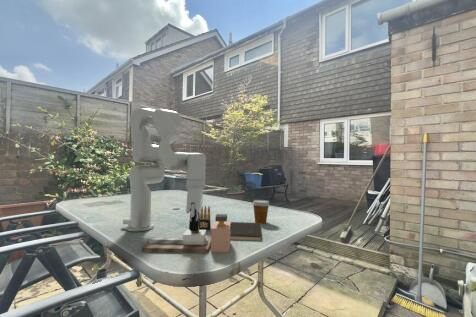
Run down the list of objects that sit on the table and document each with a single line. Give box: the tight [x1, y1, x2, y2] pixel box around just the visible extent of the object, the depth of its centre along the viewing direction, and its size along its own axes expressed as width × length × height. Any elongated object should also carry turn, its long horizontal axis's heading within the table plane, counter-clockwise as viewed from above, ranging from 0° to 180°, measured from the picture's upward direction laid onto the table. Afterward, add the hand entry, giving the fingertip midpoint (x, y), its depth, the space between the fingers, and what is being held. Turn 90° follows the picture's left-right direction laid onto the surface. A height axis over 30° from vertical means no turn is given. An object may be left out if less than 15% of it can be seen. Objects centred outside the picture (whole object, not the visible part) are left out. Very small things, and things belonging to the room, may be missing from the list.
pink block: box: [210, 221, 232, 253], centre depth 95 cm, size 7×10×9 cm
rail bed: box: [141, 237, 211, 254], centre depth 95 cm, size 25×12×3 cm, turn 90°
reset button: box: [214, 213, 228, 226], centre depth 95 cm, size 4×4×5 cm
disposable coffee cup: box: [252, 199, 270, 224], centre depth 135 cm, size 10×10×12 cm
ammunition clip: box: [188, 205, 212, 231], centre depth 119 cm, size 11×2×12 cm, turn 88°
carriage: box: [182, 214, 207, 245], centre depth 95 cm, size 8×7×11 cm
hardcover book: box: [230, 221, 262, 241], centre depth 116 cm, size 16×23×2 cm
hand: (195, 228), depth 95 cm, fingers closed on carriage, 3 cm apart
